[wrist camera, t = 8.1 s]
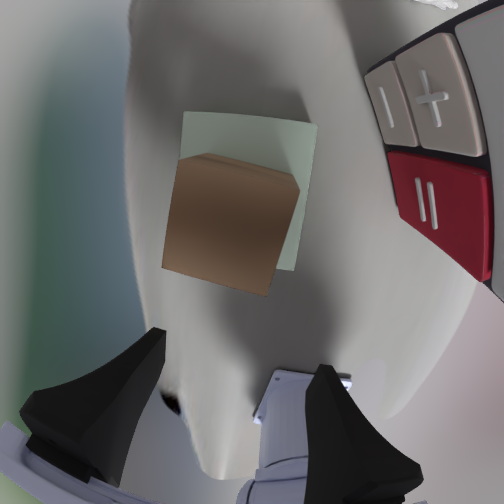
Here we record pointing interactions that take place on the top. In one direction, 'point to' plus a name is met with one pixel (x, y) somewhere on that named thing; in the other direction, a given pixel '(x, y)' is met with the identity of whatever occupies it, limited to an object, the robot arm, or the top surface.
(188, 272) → the walnut cube
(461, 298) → the top surface
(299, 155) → the block
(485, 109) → the calculator
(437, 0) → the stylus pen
